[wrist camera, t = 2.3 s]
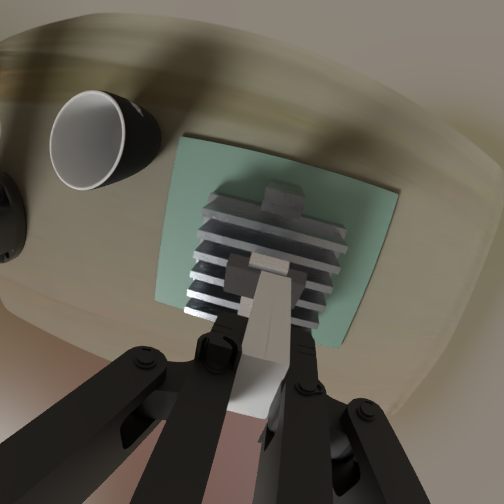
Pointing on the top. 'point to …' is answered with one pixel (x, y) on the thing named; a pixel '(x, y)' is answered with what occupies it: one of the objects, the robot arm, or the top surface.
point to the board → (253, 187)
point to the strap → (248, 273)
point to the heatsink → (264, 249)
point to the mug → (102, 140)
